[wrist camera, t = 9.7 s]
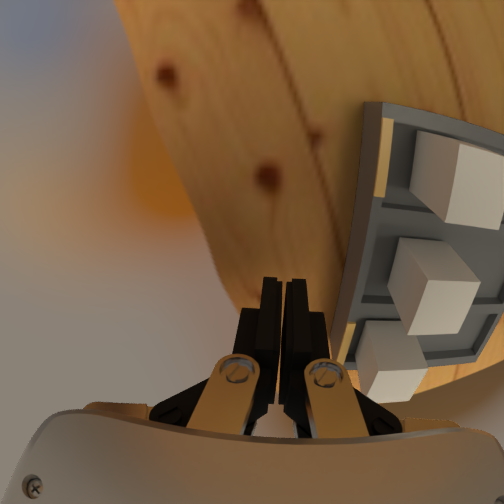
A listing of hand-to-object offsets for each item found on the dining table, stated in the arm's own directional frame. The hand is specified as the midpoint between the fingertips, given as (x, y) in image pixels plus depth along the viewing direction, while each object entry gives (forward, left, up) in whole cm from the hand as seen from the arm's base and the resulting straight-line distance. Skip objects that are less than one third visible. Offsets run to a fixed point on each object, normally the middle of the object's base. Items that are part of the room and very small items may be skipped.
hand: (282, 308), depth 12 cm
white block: (-7, 0, -4) cm, 8 cm away
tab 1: (-7, +5, -4) cm, 9 cm away
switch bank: (-10, 0, -7) cm, 12 cm away
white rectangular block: (-7, -6, -4) cm, 10 cm away
